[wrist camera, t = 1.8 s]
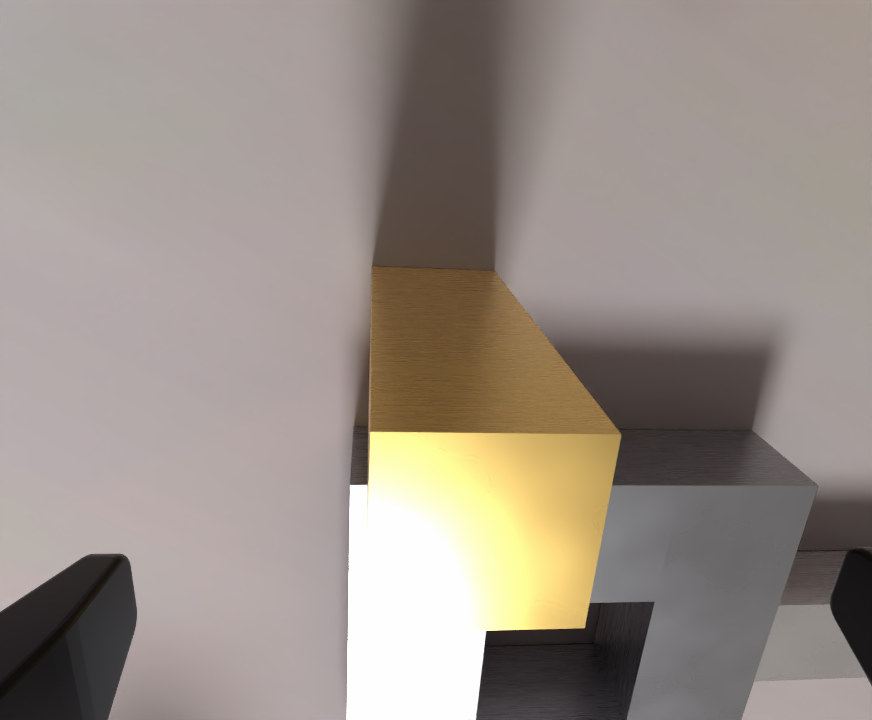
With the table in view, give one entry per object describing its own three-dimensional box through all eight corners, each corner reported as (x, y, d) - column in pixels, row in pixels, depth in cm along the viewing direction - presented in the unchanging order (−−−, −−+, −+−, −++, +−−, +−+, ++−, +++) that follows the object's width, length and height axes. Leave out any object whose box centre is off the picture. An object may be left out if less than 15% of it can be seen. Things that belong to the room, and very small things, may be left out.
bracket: (932, 432, 20) (1025, 486, 17) (822, 711, 24) (882, 789, 21) (353, 426, 18) (350, 485, 15) (348, 730, 22) (345, 820, 19)
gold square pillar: (494, 271, 16) (621, 434, 8) (483, 383, 17) (584, 627, 9) (372, 266, 16) (370, 431, 8) (369, 380, 17) (365, 632, 9)
